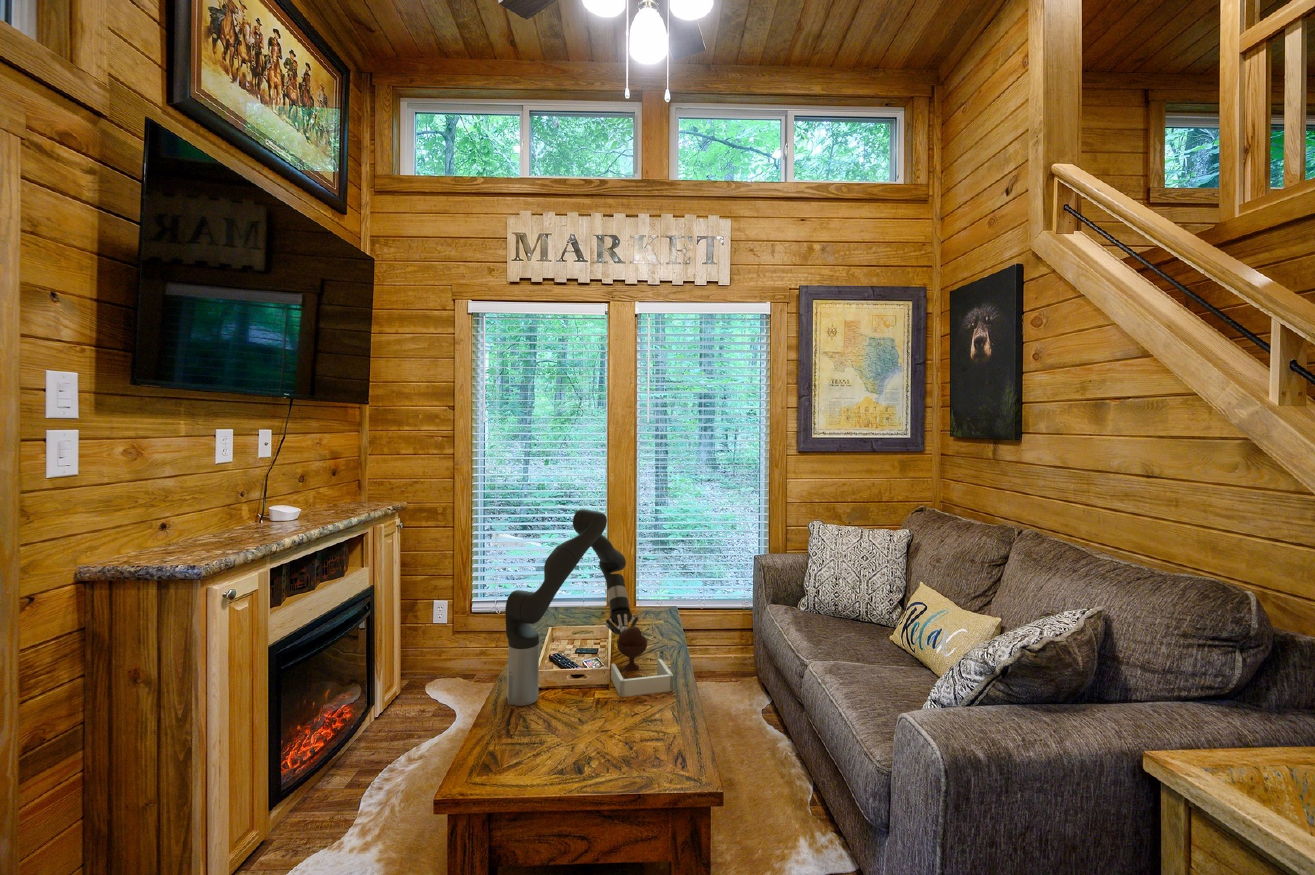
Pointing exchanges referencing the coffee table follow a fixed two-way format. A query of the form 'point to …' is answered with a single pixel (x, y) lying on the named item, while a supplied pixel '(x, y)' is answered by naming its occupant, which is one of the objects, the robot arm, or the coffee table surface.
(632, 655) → the ice cream bowl
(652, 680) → the corral
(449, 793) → the coffee table surface
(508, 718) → the coffee table surface
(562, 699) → the coffee table surface
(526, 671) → the robot arm
